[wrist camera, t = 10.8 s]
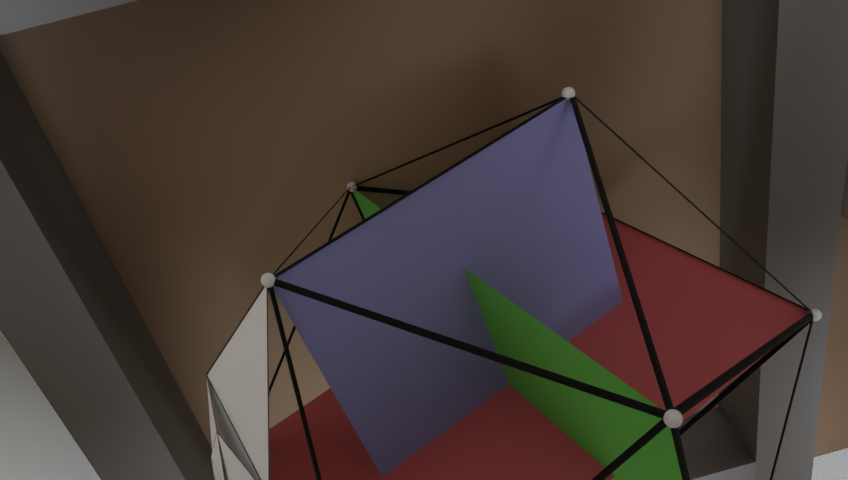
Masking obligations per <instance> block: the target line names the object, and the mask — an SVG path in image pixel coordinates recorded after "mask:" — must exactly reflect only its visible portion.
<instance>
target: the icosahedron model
mask: <svg viewBox="0 0 848 480" xmlns="http://www.w3.org/2000/svg"><path fill="white" fill-rule="evenodd" d="M576 100H577V101H578V102H579V103H580V104H581V105H583V106H584V107H585V108H586V109H587V110H588V111H589V112H590V113H591V114H592V115H594V116H595V117H596V118H597V119H598V120H599V121H600V122H601V123H602V124H604V125H605V126H606V127H607V128H608V129H609V130H610V131H611V132H612V133H613V134H615V135H616V136H617V137H618V138H619V139H620V140H621V141H622V142H623V143H624V144H626V145H627V146H628V147H629V148H630V149H631V150H632V151H633V152H634V153H635V154H637V155H638V156H639V157H640V158H641V159H642V160H643V161H644V162H645V163H646V164H648V165H649V166H650V167H651V168H652V169H653V170H654V171H655V172H656V173H658V174H659V175H660V176H661V177H662V178H663V179H664V180H665V181H666V182H667V183H669V184H670V185H671V186H672V187H673V188H674V189H675V190H676V191H677V192H678V193H680V194H681V195H682V196H683V197H684V198H685V199H686V200H687V201H688V202H689V203H691V204H692V205H693V206H694V207H695V208H696V209H697V210H698V211H699V212H700V213H702V214H703V215H704V216H705V217H706V218H707V219H708V220H709V221H710V222H712V223H713V224H714V225H715V226H716V227H717V228H718V229H719V230H720V231H721V232H723V233H724V234H725V235H726V236H727V237H728V238H729V239H730V240H731V241H732V242H734V243H735V244H736V245H737V246H738V247H739V248H740V249H741V250H742V251H743V252H745V253H746V254H747V255H748V256H749V257H750V258H751V259H752V260H753V261H754V262H756V263H757V264H758V265H759V266H760V267H761V268H762V269H763V270H764V271H766V272H767V273H768V274H769V275H770V276H771V277H772V278H773V279H774V280H775V281H777V282H778V283H779V284H780V285H781V286H782V287H783V288H784V289H785V290H786V291H788V292H789V293H790V294H791V295H792V296H793V297H794V298H795V299H796V300H797V301H799V302H800V303H801V304H802V305H803V306H804V307H803V306H801V305H798V304H796V303H794V302H792V301H790V300H788V299H786V298H784V297H781V296H779V295H777V294H775V293H773V292H771V291H769V290H767V289H764V288H762V287H760V286H758V285H756V284H754V283H752V282H750V281H747V280H745V279H743V278H741V277H739V276H737V275H735V274H733V273H730V272H728V271H726V270H724V269H722V268H720V267H718V266H716V265H714V264H711V263H709V262H707V261H705V260H703V259H701V258H699V257H697V256H694V255H692V254H690V253H688V252H686V251H684V250H682V249H680V248H677V247H675V246H673V245H671V244H669V243H667V242H665V241H663V240H660V239H658V238H656V237H654V236H652V235H650V234H648V233H646V232H643V231H641V230H639V229H637V228H635V227H633V226H631V225H629V224H626V223H624V222H622V221H620V220H618V219H616V218H614V217H613V214H612V211H611V208H610V205H609V202H608V198H607V195H606V192H605V189H604V186H603V183H602V179H601V176H600V173H599V170H598V167H597V164H596V161H595V157H594V154H593V151H592V148H591V145H590V142H589V138H588V135H587V132H586V129H585V126H584V123H583V119H582V116H581V113H580V110H579V107H578V104H577V101H576ZM552 103H553V104H552ZM550 104H551V105H550ZM548 105H549V106H548ZM545 106H548V107H546V108H544V109H543V110H541V111H540V112H538V113H536V114H535V115H533V116H531V117H530V118H528V119H527V120H525V121H523V122H522V123H520V124H518V125H517V126H515V127H514V128H512V129H510V130H509V131H507V132H505V133H504V134H502V135H501V136H499V137H497V138H496V139H494V140H492V141H491V142H489V143H488V144H486V145H484V146H483V147H481V148H479V149H478V150H476V151H475V152H473V153H471V154H470V155H468V156H466V157H465V158H463V159H462V160H460V161H458V162H457V163H455V164H453V165H452V166H450V167H449V168H447V169H445V170H444V171H442V172H440V173H439V174H437V175H436V176H434V177H432V178H431V179H429V180H427V181H426V182H424V183H423V184H421V185H419V186H418V187H416V188H414V189H413V190H411V191H408V190H397V189H387V188H376V187H366V186H358V185H360V184H363V183H365V182H367V181H370V180H372V179H374V178H377V177H379V176H382V175H384V174H386V173H389V172H391V171H393V170H396V169H398V168H401V167H403V166H405V165H408V164H410V163H412V162H415V161H417V160H420V159H422V158H424V157H427V156H429V155H431V154H434V153H436V152H438V151H441V150H443V149H446V148H448V147H450V146H453V145H455V144H457V143H460V142H462V141H465V140H467V139H469V138H472V137H474V136H476V135H479V134H481V133H484V132H486V131H488V130H491V129H493V128H495V127H498V126H500V125H503V124H505V123H507V122H510V121H512V120H514V119H517V118H519V117H522V116H524V115H526V114H529V113H531V112H533V111H536V110H538V109H540V108H543V107H545ZM586 153H587V154H586ZM587 156H588V158H587ZM588 159H589V162H588ZM589 163H590V166H591V169H592V172H593V176H594V179H595V182H596V185H597V189H598V192H599V195H600V198H601V202H602V205H603V208H604V211H605V213H603V212H601V210H600V206H599V202H598V198H597V194H596V190H595V186H594V182H593V178H592V174H591V170H590V166H589ZM347 191H348V192H347ZM347 191H346V192H347V195H346V197H345V200H344V202H343V205H342V207H341V209H340V212H339V214H338V217H337V219H336V222H335V224H334V227H333V229H332V232H331V234H330V237H329V239H328V242H327V243H325V244H323V245H322V246H320V247H319V248H317V249H315V250H314V251H312V252H310V253H309V254H307V255H306V256H304V257H302V258H301V259H299V260H297V261H296V262H294V263H293V264H291V265H289V266H288V267H286V268H284V269H283V270H281V271H280V272H278V273H276V272H277V271H278V270H279V269H280V267H281V266H282V265H283V264H284V263H285V262H286V261H287V260H288V258H289V257H290V256H291V255H292V254H293V253H294V252H295V250H296V249H297V248H298V247H299V246H300V245H301V244H302V242H303V241H304V240H305V239H306V238H307V237H308V236H309V234H310V233H311V232H312V231H313V230H314V229H315V228H316V227H317V225H318V224H319V223H320V222H321V221H322V220H323V219H324V217H325V216H326V215H327V214H328V213H329V212H330V211H331V209H332V208H333V207H334V206H335V205H336V204H337V203H338V201H339V200H340V199H341V198H342V197H343V196H344V195H345V193H346V192H345V193H344V194H343V195H342V196H341V197H340V198H339V200H338V201H337V202H336V203H335V204H334V205H333V206H332V208H331V209H330V210H329V211H328V212H327V213H326V214H325V215H324V217H323V218H322V219H321V220H320V221H319V222H318V223H317V224H316V226H315V227H314V228H313V229H312V230H311V231H310V232H309V233H308V235H307V236H306V237H305V238H304V239H303V240H302V241H301V242H300V244H299V245H298V246H297V247H296V248H295V249H294V250H293V251H292V253H291V254H290V255H289V256H288V257H287V258H286V259H285V261H284V262H283V263H282V264H281V265H280V266H279V267H278V268H277V270H276V271H275V272H274V273H273V274H272V273H265V274H263V275H262V277H261V284H262V285H263V287H262V289H261V291H260V292H259V294H258V295H257V297H256V298H255V300H254V301H253V303H252V304H251V306H250V307H249V309H248V311H247V312H246V314H245V315H244V317H243V318H242V320H241V321H240V323H239V324H238V326H237V327H236V329H235V331H234V332H233V334H232V335H231V337H230V338H229V340H228V341H227V343H226V344H225V346H224V348H223V349H222V351H221V352H220V354H219V355H218V357H217V358H216V360H215V361H214V363H213V364H212V366H211V368H210V369H209V371H208V372H207V374H206V375H207V376H206V378H207V380H208V381H207V391H208V404H209V417H210V430H211V442H212V453H211V461H212V467H213V473H214V478H215V480H690V477H689V473H688V468H687V464H686V459H685V455H684V450H683V446H682V441H681V437H680V436H681V435H682V434H683V433H684V432H686V431H687V430H688V429H689V428H690V427H691V426H692V425H694V424H695V423H696V422H697V421H698V420H699V419H700V418H702V417H703V416H704V415H705V414H706V413H707V412H708V411H710V410H711V409H712V408H713V407H714V406H715V405H717V404H718V403H719V402H720V401H721V400H722V399H723V398H725V397H726V396H727V395H728V394H729V393H730V392H731V391H733V390H734V389H735V388H736V387H737V386H738V385H739V384H741V383H742V382H743V381H744V380H745V379H746V378H748V377H749V376H750V375H751V374H752V373H753V372H754V371H756V370H757V369H758V368H759V367H760V366H761V365H762V364H764V363H765V362H766V361H767V360H768V359H769V358H770V357H772V356H773V355H774V354H775V353H776V352H777V351H779V350H780V349H781V348H782V347H783V346H784V345H785V344H787V343H788V342H789V341H790V340H791V339H792V338H793V337H795V336H796V335H797V334H798V333H799V332H800V331H801V330H803V329H804V328H805V327H806V326H807V325H808V324H810V326H809V330H808V334H807V337H806V341H805V345H804V349H803V353H802V357H801V360H800V364H799V368H798V372H797V376H796V380H795V384H794V387H793V391H792V395H791V399H790V403H789V407H788V410H787V414H786V418H785V422H784V426H783V430H782V434H781V437H780V441H779V445H778V449H777V453H776V457H775V460H774V464H773V468H772V472H771V476H770V480H772V479H773V476H774V472H775V468H776V464H777V460H778V456H779V452H780V448H781V445H782V441H783V437H784V433H785V429H786V425H787V421H788V418H789V414H790V410H791V406H792V402H793V398H794V394H795V391H796V387H797V383H798V379H799V375H800V371H801V367H802V364H803V360H804V356H805V352H806V348H807V344H808V340H809V337H810V333H811V329H812V325H813V321H815V322H816V321H819V320H820V319H821V318H822V313H821V311H820V310H818V309H812V310H810V309H809V308H808V307H807V306H806V305H805V304H803V303H802V302H801V301H800V300H799V299H798V298H797V297H796V296H795V295H794V294H792V293H791V292H790V291H789V290H788V289H787V288H786V287H785V286H784V285H783V284H781V283H780V282H779V281H778V280H777V279H776V278H775V277H774V276H773V275H772V274H770V273H769V272H768V271H767V270H766V269H765V268H764V267H763V266H762V265H761V264H759V263H758V262H757V261H756V260H755V259H754V258H753V257H752V256H751V255H749V254H748V253H747V252H746V251H745V250H744V249H743V248H742V247H741V246H740V245H738V244H737V243H736V242H735V241H734V240H733V239H732V238H731V237H730V236H729V235H727V234H726V233H725V232H724V231H723V230H722V229H721V228H720V227H719V226H718V225H716V224H715V223H714V222H713V221H712V220H711V219H710V218H709V217H708V216H707V215H705V214H704V213H703V212H702V211H701V210H700V209H699V208H698V207H697V206H696V205H694V204H693V203H692V202H691V201H690V200H689V199H688V198H687V197H686V196H685V195H683V194H682V193H681V192H680V191H679V190H678V189H677V188H676V187H675V186H673V185H672V184H671V183H670V182H669V181H668V180H667V179H666V178H665V177H664V176H662V175H661V174H660V173H659V172H658V171H657V170H656V169H655V168H654V167H653V166H651V165H650V164H649V163H648V162H647V161H646V160H645V159H644V158H643V157H642V156H640V155H639V154H638V153H637V152H636V151H635V150H634V149H633V148H632V147H631V146H629V145H628V144H627V143H626V142H625V141H624V140H623V139H622V138H621V137H620V136H618V135H617V134H616V133H615V132H614V131H613V130H612V129H611V128H610V127H609V126H607V125H606V124H605V123H604V122H603V121H602V120H601V119H600V118H599V117H598V116H596V115H595V114H594V113H593V112H592V111H591V110H590V109H589V108H588V107H586V106H585V105H584V104H583V103H582V102H581V101H580V100H579V99H578V98H577V97H575V90H574V89H573V88H572V87H566V88H564V89H563V91H562V97H560V98H557V99H555V100H553V101H550V102H548V103H545V104H543V105H541V106H538V107H536V108H534V109H531V110H529V111H527V112H524V113H522V114H520V115H517V116H515V117H513V118H510V119H508V120H505V121H503V122H501V123H498V124H496V125H494V126H491V127H489V128H487V129H484V130H482V131H480V132H477V133H475V134H473V135H470V136H468V137H465V138H463V139H461V140H458V141H456V142H454V143H451V144H449V145H447V146H444V147H442V148H440V149H437V150H435V151H433V152H430V153H428V154H425V155H423V156H421V157H418V158H416V159H414V160H411V161H409V162H407V163H404V164H402V165H400V166H397V167H395V168H392V169H390V170H388V171H385V172H383V173H381V174H378V175H376V176H374V177H371V178H369V179H367V180H364V181H362V182H360V183H357V184H356V183H355V182H349V183H348V185H347ZM357 191H365V192H376V193H387V194H397V195H403V196H401V197H400V198H398V199H397V200H395V201H393V202H392V203H390V204H388V205H387V206H385V207H384V208H382V209H381V208H380V207H378V206H377V205H375V204H374V203H373V202H371V201H370V200H368V199H367V198H366V197H364V196H363V195H361V194H360V193H359V192H357ZM350 194H351V196H352V198H353V200H354V202H355V204H356V206H357V209H358V211H359V213H360V215H361V217H362V219H363V220H362V221H361V222H359V223H358V224H356V225H354V226H353V227H351V228H349V229H348V230H346V231H345V232H343V233H341V234H340V235H338V236H336V237H335V238H333V239H332V237H333V234H334V232H335V229H336V227H337V224H338V222H339V220H340V217H341V215H342V212H343V210H344V207H345V205H346V202H347V200H348V197H349V195H350ZM331 239H332V240H331ZM275 273H276V274H275ZM274 274H275V275H274ZM274 291H275V292H274ZM269 292H270V296H271V300H272V304H273V308H274V312H275V316H276V320H277V324H278V328H279V332H280V336H281V340H282V344H283V348H284V351H283V354H282V356H281V359H280V361H279V364H278V366H277V369H276V371H275V374H274V376H273V379H272V381H271V384H270V386H269V349H268V293H269ZM275 293H276V294H277V296H278V298H279V300H280V301H281V303H282V305H283V307H284V308H285V310H286V312H287V314H288V315H289V317H290V319H291V320H292V322H293V324H294V326H293V329H292V331H291V334H290V336H289V339H288V341H287V339H286V335H285V331H284V327H283V324H282V320H281V316H280V312H279V308H278V304H277V300H276V296H275ZM295 329H297V331H298V333H299V334H300V336H301V338H302V339H303V341H304V343H305V345H306V346H307V348H308V350H309V352H310V353H311V355H312V357H313V358H314V360H315V362H316V364H317V365H318V367H319V369H320V371H321V372H322V374H323V376H324V377H325V379H326V381H327V383H328V384H329V386H330V388H329V389H328V390H327V391H325V392H324V393H322V394H321V395H319V396H318V397H316V398H315V399H313V400H312V401H310V402H309V403H307V404H306V405H304V406H303V403H302V399H301V395H300V391H299V387H298V383H297V379H296V375H295V371H294V367H293V363H292V359H291V355H290V351H289V344H290V342H291V339H292V337H293V334H294V332H295ZM285 356H286V360H287V364H288V368H289V372H290V376H291V380H292V383H293V387H294V391H295V395H296V399H297V403H298V407H299V409H298V410H297V411H295V412H294V413H293V414H291V415H290V416H288V417H287V418H285V419H284V420H282V421H281V422H279V423H278V424H276V425H275V426H273V427H272V428H270V429H269V394H270V391H271V389H272V386H273V384H274V381H275V379H276V376H277V374H278V371H279V369H280V366H281V364H282V362H283V359H284V357H285ZM743 372H744V373H743ZM742 373H743V374H742ZM741 374H742V375H741ZM740 375H741V376H740ZM738 376H739V377H738ZM737 377H738V378H737ZM736 378H737V379H736ZM735 379H736V380H735ZM733 380H735V381H734V382H733V383H732V384H730V383H731V382H732V381H733ZM208 384H209V387H208ZM729 384H730V385H729ZM727 385H729V386H728V387H727V388H726V389H725V390H724V391H723V392H721V393H720V394H719V395H718V396H717V397H716V398H715V399H713V400H712V401H711V402H710V403H709V404H708V405H707V406H706V407H704V408H703V409H702V410H701V411H700V412H699V413H698V414H697V415H695V416H694V417H693V418H692V419H691V420H690V421H689V422H688V423H686V424H685V425H684V426H683V427H682V428H681V429H680V430H679V428H678V427H679V426H680V425H681V424H682V422H683V421H684V420H685V419H687V418H688V417H689V416H690V415H692V414H693V413H694V412H695V411H696V410H698V409H699V408H700V407H701V406H703V405H704V404H705V403H706V402H708V401H709V400H710V399H711V398H713V397H714V396H715V395H716V394H717V393H719V392H720V391H721V390H722V389H724V388H725V387H726V386H727ZM209 388H210V392H211V396H212V400H213V404H214V408H215V412H216V416H217V420H218V424H219V428H220V432H221V436H222V437H221V436H220V435H219V434H218V432H217V430H216V425H215V419H214V414H213V408H212V403H211V398H210V392H209Z"/></svg>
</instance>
